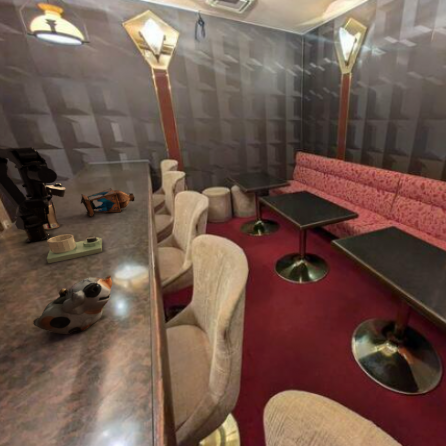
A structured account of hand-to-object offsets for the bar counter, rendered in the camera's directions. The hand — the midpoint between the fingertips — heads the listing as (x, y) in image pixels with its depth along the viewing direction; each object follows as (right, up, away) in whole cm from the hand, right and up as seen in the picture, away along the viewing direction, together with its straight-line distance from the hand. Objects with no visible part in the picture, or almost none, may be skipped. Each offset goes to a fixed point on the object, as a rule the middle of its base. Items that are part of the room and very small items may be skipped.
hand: (45, 217), depth 102 cm
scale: (+15, -14, -2) cm, 21 cm away
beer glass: (-17, -5, +19) cm, 26 cm away
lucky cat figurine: (+47, -28, -35) cm, 65 cm away
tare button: (+19, -10, 0) cm, 22 cm away
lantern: (-6, +5, +44) cm, 45 cm away
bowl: (+12, -13, -5) cm, 18 cm away
